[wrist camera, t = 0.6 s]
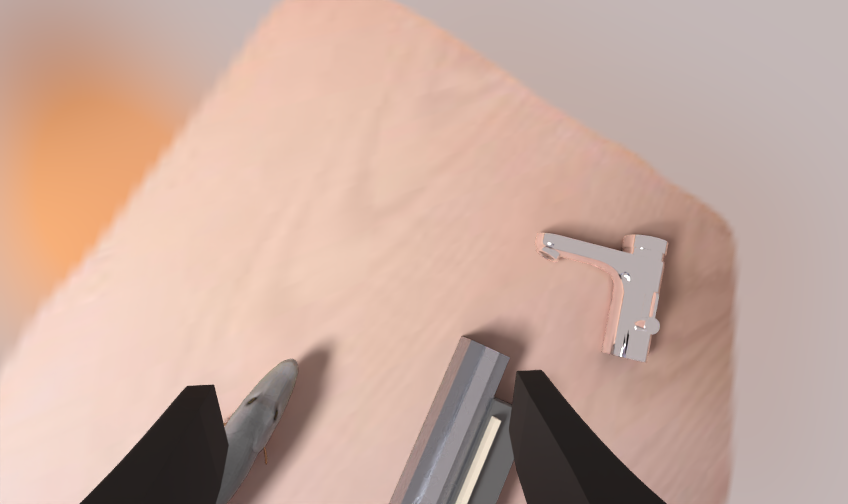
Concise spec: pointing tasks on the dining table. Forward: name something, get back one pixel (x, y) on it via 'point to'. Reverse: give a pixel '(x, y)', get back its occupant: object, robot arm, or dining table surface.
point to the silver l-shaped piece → (620, 286)
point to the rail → (451, 425)
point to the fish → (255, 425)
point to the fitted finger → (487, 459)
